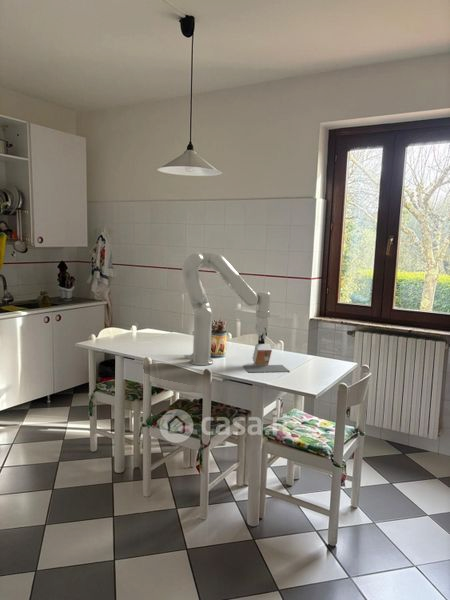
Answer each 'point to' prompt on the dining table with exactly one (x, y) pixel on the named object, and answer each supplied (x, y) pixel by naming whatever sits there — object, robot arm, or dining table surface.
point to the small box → (262, 354)
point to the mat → (265, 368)
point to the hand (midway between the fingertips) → (261, 347)
